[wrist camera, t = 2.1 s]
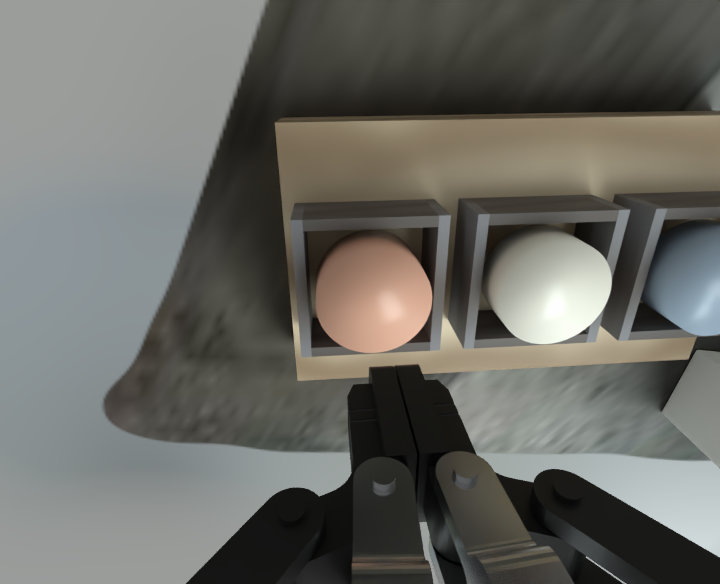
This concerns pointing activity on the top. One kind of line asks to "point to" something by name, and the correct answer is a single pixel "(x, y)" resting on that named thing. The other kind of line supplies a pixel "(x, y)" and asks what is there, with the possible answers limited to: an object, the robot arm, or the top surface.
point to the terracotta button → (372, 292)
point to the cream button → (545, 283)
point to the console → (494, 221)
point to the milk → (699, 403)
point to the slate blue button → (687, 277)
